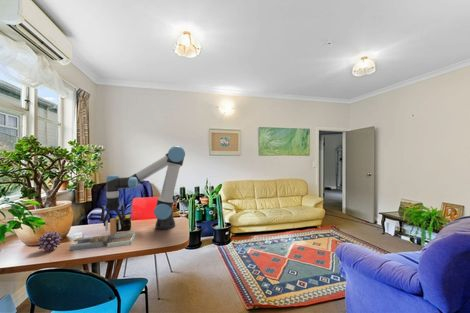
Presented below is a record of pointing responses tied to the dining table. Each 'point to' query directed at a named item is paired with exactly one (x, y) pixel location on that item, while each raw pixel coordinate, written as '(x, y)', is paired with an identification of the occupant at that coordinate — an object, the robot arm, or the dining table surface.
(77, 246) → the slot board
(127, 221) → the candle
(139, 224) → the dining table surface
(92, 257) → the dining table surface
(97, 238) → the chip
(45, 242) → the flower
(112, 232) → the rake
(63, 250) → the dining table surface
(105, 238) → the chip
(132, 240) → the tray
